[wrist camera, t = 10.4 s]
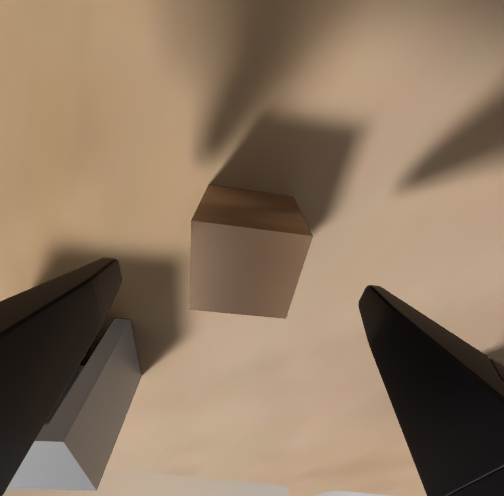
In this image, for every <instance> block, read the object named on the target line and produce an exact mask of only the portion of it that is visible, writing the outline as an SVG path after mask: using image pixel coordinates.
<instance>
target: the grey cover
mask: <svg viewBox="0 0 504 496" xmlns="http://www.w3.org/2000/svg"><path fill="white" fill-rule="evenodd" d="M140 379H141V371H140V366H139V360H138V355H137V350H136V345H135V340H134V335H133V330H132V325H131V320H130V319H117V318H115V319H114V320H113V322H112V323H111V325H110V327H109V328H108V330H107V331H106V333H105V335H104V336H103V338H102V339H101V341H100V343H99V344H98V346H97V347H96V349H95V351H94V352H93V354H92V355H91V357H90V358H89V360H88V362H87V363H86V365H85V366H84V365H79V366H78V368H77V370H76V371H75V373H74V375H73V376H72V378H71V380H70V381H69V383H68V385H67V387H66V388H65V390H64V392H63V393H62V395H61V397H60V399H59V400H58V402H57V404H56V405H55V407H54V409H53V410H52V412H51V414H50V416H49V417H48V419H47V421H46V422H45V424H44V426H43V428H42V429H41V431H40V433H39V434H38V436H37V438H36V440H35V441H34V443H33V445H32V446H31V448H30V450H29V451H28V453H27V455H26V457H25V458H24V460H23V462H22V463H21V465H20V467H19V469H18V470H17V472H16V474H15V475H14V477H13V479H12V481H11V482H10V484H9V486H8V487H7V489H33V490H34V489H35V490H89V491H97V488H98V486H99V483H100V481H101V478H102V476H103V473H104V471H105V468H106V465H107V463H108V460H109V458H110V455H111V453H112V450H113V448H114V445H115V443H116V440H117V437H118V435H119V432H120V430H121V427H122V425H123V422H124V420H125V417H126V414H127V412H128V409H129V407H130V404H131V402H132V399H133V397H134V394H135V392H136V389H137V386H138V384H139V381H140Z"/></svg>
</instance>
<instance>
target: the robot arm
mask: <svg viewBox="0 0 504 496" xmlns="http://www.w3.org/2000/svg"><path fill="white" fill-rule="evenodd" d="M121 282H122V276H121V271H120V265H119V261H118V260H117V259H115V258H102V259H99V260H97V261H94V262H92V263H90V264H87V265H85V266H83V267H80V268H78V269H76V270H73V271H71V272H69V273H66V274H64V275H61V276H59V277H57V278H54V279H52V280H50V281H47V282H45V283H43V284H40V285H38V286H36V287H33V288H31V289H29V290H26V291H24V292H21V293H19V294H17V295H14V296H12V297H10V298H7V299H5V300H3V301H0V496H2V495H3V494H4V492H5V491H6V489H7V487H8V486H9V484H10V482H11V481H12V479H13V477H14V475H15V474H16V472H17V470H18V469H19V467H20V465H21V463H22V462H23V460H24V458H25V457H26V455H27V453H28V451H29V450H30V448H31V446H32V445H33V443H34V441H35V440H36V438H37V436H38V434H39V433H40V431H41V429H42V428H43V426H44V424H45V422H46V421H47V419H48V417H49V416H50V414H51V412H52V410H53V409H54V407H55V405H56V404H57V402H58V400H59V399H60V397H61V395H62V393H63V392H64V390H65V388H66V387H67V385H68V383H69V381H70V380H71V378H72V376H73V375H74V373H75V371H76V370H77V368H78V366H79V364H80V363H81V361H82V359H83V358H84V356H85V354H86V352H87V351H88V349H89V347H90V346H91V344H92V342H93V340H94V339H95V337H96V335H97V334H98V332H99V330H100V328H101V327H102V325H103V323H104V321H105V319H106V317H107V314H108V312H109V310H110V308H111V305H112V303H113V301H114V299H115V296H116V294H117V292H118V290H119V287H120V285H121ZM359 310H360V313H361V317H362V321H363V325H364V328H365V332H366V336H367V339H368V342H369V346H370V348H371V351H372V354H373V356H374V359H375V362H376V364H377V367H378V369H379V372H380V375H381V377H382V380H383V382H384V385H385V388H386V390H387V393H388V395H389V398H390V401H391V403H392V406H393V408H394V411H395V414H396V416H397V419H398V421H399V424H400V427H401V429H402V432H403V434H404V437H405V440H406V442H407V445H408V447H409V450H410V453H411V455H412V458H413V460H414V463H415V465H416V468H417V471H418V473H419V476H420V478H421V481H422V484H423V486H424V489H425V491H426V494H427V496H504V367H503V366H502V365H500V364H499V363H497V362H496V361H494V360H493V359H489V357H488V356H486V355H485V354H483V353H482V352H480V351H479V350H477V349H476V348H474V347H472V346H471V345H469V344H468V343H466V342H465V341H463V340H462V339H460V338H459V337H457V336H456V335H454V334H453V333H451V332H449V331H448V330H446V329H445V328H443V327H442V326H440V325H439V324H437V323H436V322H434V321H433V320H431V319H430V318H428V317H426V316H425V315H423V314H422V313H420V312H419V311H417V310H416V309H414V308H413V307H411V306H410V305H408V304H407V303H405V302H403V301H402V300H400V299H399V298H397V297H396V296H394V295H393V294H391V293H390V292H388V291H387V290H385V289H384V288H382V287H380V286H374V285H369V286H367V287H366V289H365V290H364V292H363V294H362V296H361V298H360V300H359Z"/></svg>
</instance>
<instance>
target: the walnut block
mask: <svg viewBox="0 0 504 496" xmlns="http://www.w3.org/2000/svg"><path fill="white" fill-rule="evenodd" d="M312 237H313V236H312V234H311V232H310V230H309V228H308V226H307V224H306V222H305V220H304V218H303V216H302V214H301V212H300V210H299V208H298V206H297V204H296V202H295V200H294V198H293V197H291V196H284V195H277V194H270V193H263V192H256V191H249V190H243V189H236V188H229V187H222V186H215V185H208V187H207V189H206V191H205V193H204V195H203V197H202V199H201V202H200V204H199V206H198V208H197V210H196V212H195V214H194V216H193V218H192V220H191V267H190V310H199V311H210V312H221V313H231V314H242V315H253V316H264V317H275V318H286V316H287V313H288V310H289V307H290V304H291V301H292V298H293V295H294V292H295V289H296V286H297V283H298V280H299V277H300V274H301V270H302V267H303V264H304V261H305V258H306V255H307V252H308V249H309V246H310V243H311V240H312Z"/></svg>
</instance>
